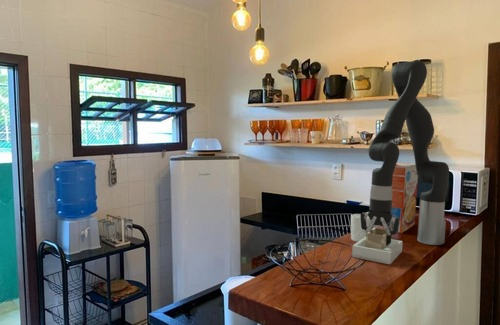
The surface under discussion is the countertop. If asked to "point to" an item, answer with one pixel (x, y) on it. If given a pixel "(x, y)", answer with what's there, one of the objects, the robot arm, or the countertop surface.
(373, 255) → the white crate
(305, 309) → the countertop surface
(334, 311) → the countertop surface
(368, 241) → the birch crate
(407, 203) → the orange cereal box
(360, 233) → the white cup
